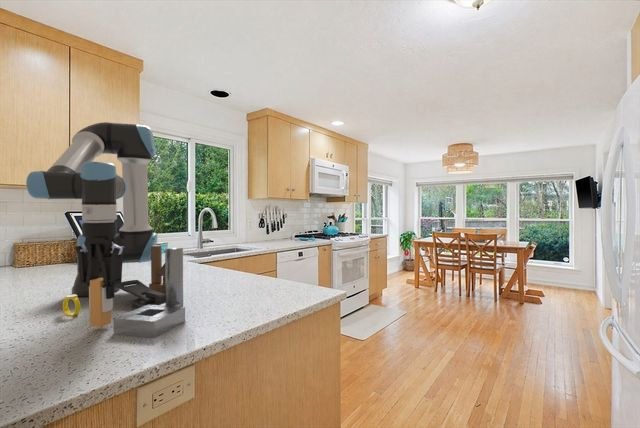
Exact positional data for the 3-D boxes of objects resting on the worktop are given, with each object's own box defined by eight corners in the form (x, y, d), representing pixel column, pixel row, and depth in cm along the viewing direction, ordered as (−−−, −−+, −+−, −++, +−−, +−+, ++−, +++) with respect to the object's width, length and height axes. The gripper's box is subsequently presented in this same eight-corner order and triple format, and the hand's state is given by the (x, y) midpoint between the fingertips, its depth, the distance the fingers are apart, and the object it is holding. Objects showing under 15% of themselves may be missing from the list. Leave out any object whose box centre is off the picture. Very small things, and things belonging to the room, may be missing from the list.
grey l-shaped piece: (162, 311, 98) (162, 247, 98) (197, 314, 96) (197, 247, 95) (113, 334, 81) (112, 255, 80) (154, 337, 78) (153, 256, 78)
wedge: (101, 321, 86) (100, 277, 86) (111, 322, 85) (110, 278, 85) (90, 326, 83) (89, 280, 83) (100, 327, 82) (100, 281, 82)
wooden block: (169, 296, 116) (169, 247, 116) (148, 293, 120) (148, 245, 120) (177, 293, 119) (177, 246, 119) (157, 291, 124) (156, 244, 124)
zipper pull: (138, 278, 116) (178, 288, 102) (138, 297, 116) (178, 308, 102) (111, 283, 108) (149, 294, 94) (111, 303, 108) (150, 316, 94)
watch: (82, 315, 96) (83, 296, 96) (73, 318, 93) (73, 298, 93) (69, 312, 98) (70, 292, 98) (59, 314, 95) (60, 295, 95)
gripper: (60, 221, 82) (62, 312, 82) (113, 222, 78) (115, 317, 79) (87, 220, 89) (88, 303, 90) (137, 221, 85) (138, 307, 86)
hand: (101, 309), depth 84 cm, fingers closed on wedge, 3 cm apart
